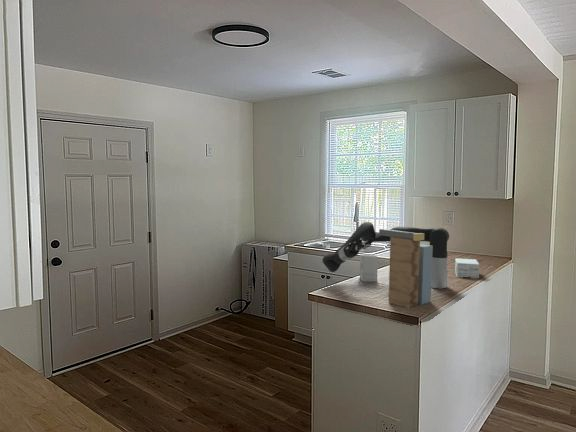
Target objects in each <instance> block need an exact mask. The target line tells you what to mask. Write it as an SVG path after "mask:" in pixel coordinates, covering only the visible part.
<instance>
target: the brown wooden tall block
mask: <svg viewBox="0 0 576 432" xmlns="http://www.w3.org/2000/svg"><path fill="white" fill-rule="evenodd" d="M389 243H390V244H389V247H390V248H389V270H388V271H389V272H388V273H389V274H388V278H389V279H388V303H391V304H394V305H397V306H401V307H404V308H407V307H408V309H410V308H413V306H414V307H417V305H418V306H419V304H418V287H419V258H420V244H421V241H420V240H419V241H414V240H410V239H403V238H396V237H390V242H389ZM409 307H410V308H409Z"/></svg>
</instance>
